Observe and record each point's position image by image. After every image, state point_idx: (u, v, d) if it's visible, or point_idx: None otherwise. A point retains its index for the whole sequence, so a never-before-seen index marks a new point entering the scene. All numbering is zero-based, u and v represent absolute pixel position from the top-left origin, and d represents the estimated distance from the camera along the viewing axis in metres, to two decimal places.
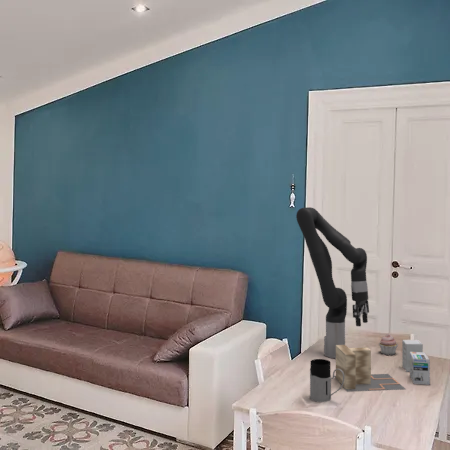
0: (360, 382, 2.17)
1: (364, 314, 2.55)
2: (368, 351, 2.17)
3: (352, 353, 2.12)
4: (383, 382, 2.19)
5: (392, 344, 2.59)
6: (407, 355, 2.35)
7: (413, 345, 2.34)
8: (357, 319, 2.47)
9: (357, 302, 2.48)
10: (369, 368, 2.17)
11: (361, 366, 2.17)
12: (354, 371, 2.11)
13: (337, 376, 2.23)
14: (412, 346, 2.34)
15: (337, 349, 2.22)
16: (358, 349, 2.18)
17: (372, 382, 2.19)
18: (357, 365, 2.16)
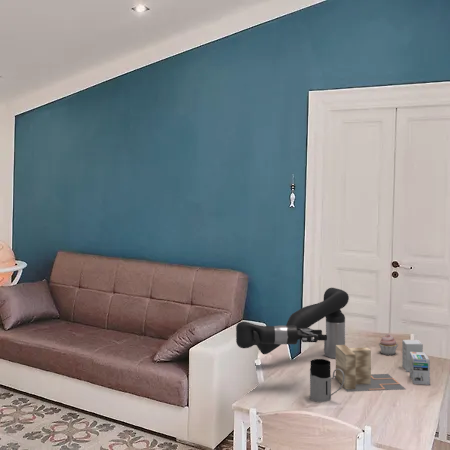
0: (360, 382, 2.17)
1: (312, 332, 2.21)
2: (368, 351, 2.17)
3: (352, 353, 2.12)
4: (383, 382, 2.19)
5: (392, 344, 2.59)
6: (407, 355, 2.35)
7: (413, 345, 2.34)
8: (319, 337, 2.12)
9: (299, 336, 2.13)
10: (369, 368, 2.17)
11: (361, 366, 2.17)
12: (354, 371, 2.11)
13: (337, 376, 2.23)
14: (412, 346, 2.34)
15: (337, 349, 2.22)
16: (358, 349, 2.18)
17: (372, 382, 2.19)
18: (357, 365, 2.16)
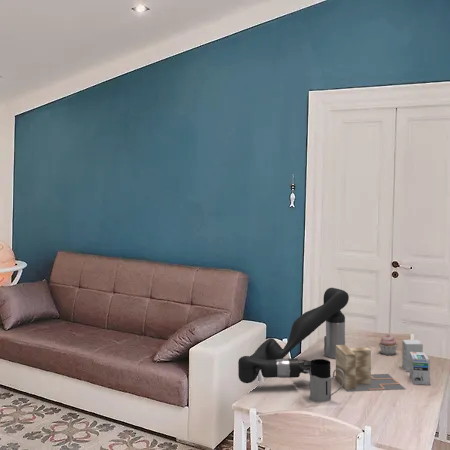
0: (360, 382, 2.17)
1: None
2: (368, 351, 2.17)
3: (352, 353, 2.12)
4: (383, 382, 2.19)
5: (392, 344, 2.59)
6: (407, 355, 2.35)
7: (413, 345, 2.34)
8: None
9: (301, 370, 2.13)
10: (369, 368, 2.17)
11: (361, 366, 2.17)
12: (354, 371, 2.11)
13: (337, 376, 2.23)
14: (412, 346, 2.34)
15: (337, 349, 2.22)
16: (358, 349, 2.18)
17: (372, 382, 2.19)
18: (357, 365, 2.16)
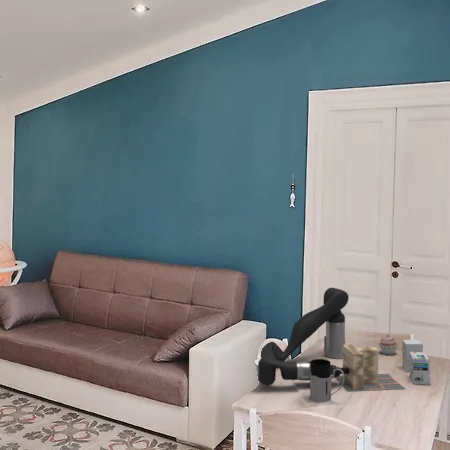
0: (367, 382, 2.17)
1: None
2: (375, 351, 2.17)
3: (360, 353, 2.12)
4: (383, 382, 2.19)
5: (392, 344, 2.59)
6: (407, 355, 2.35)
7: (413, 345, 2.34)
8: None
9: None
10: (376, 368, 2.17)
11: (369, 365, 2.17)
12: (362, 371, 2.11)
13: (344, 376, 2.23)
14: (412, 346, 2.34)
15: (344, 349, 2.22)
16: (365, 349, 2.18)
17: None
18: (364, 365, 2.17)
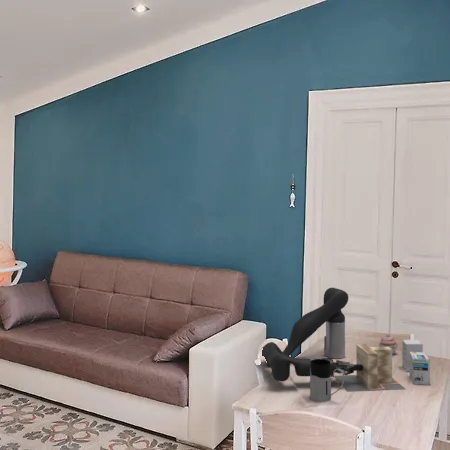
0: (381, 381, 2.18)
1: None
2: (389, 350, 2.17)
3: (374, 352, 2.13)
4: None
5: (392, 344, 2.59)
6: (407, 355, 2.35)
7: (413, 345, 2.34)
8: (355, 368, 2.17)
9: None
10: (390, 367, 2.18)
11: (383, 365, 2.17)
12: (376, 370, 2.12)
13: (358, 375, 2.24)
14: (412, 346, 2.34)
15: (358, 348, 2.23)
16: (379, 348, 2.19)
17: None
18: (378, 364, 2.17)
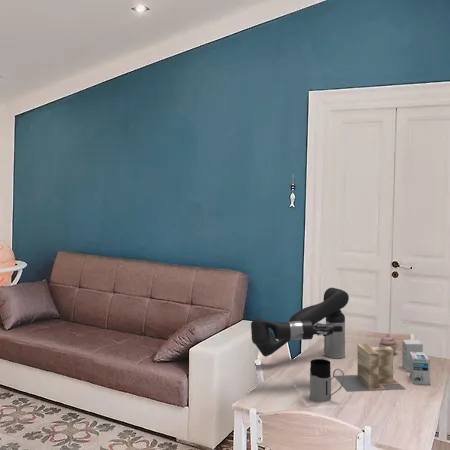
0: (382, 381, 2.18)
1: None
2: (390, 350, 2.17)
3: (375, 352, 2.13)
4: None
5: (392, 344, 2.59)
6: (407, 355, 2.35)
7: (413, 345, 2.34)
8: (334, 329, 2.15)
9: (314, 331, 2.12)
10: (391, 367, 2.18)
11: (384, 365, 2.17)
12: (377, 370, 2.12)
13: (359, 375, 2.24)
14: (412, 346, 2.34)
15: (359, 348, 2.23)
16: (380, 348, 2.19)
17: None
18: (380, 364, 2.17)
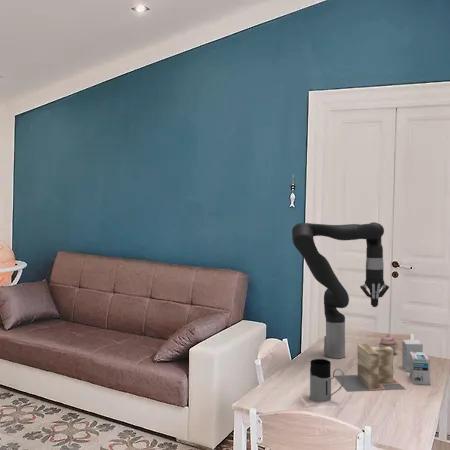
0: (382, 381, 2.18)
1: None
2: (390, 350, 2.17)
3: (375, 352, 2.13)
4: None
5: (392, 344, 2.59)
6: (407, 355, 2.35)
7: (413, 345, 2.34)
8: None
9: None
10: (391, 367, 2.18)
11: (384, 365, 2.17)
12: (377, 370, 2.12)
13: (359, 375, 2.24)
14: (412, 346, 2.34)
15: (359, 348, 2.23)
16: (380, 348, 2.19)
17: None
18: (380, 364, 2.17)
